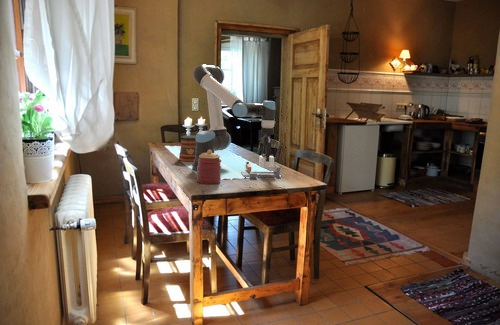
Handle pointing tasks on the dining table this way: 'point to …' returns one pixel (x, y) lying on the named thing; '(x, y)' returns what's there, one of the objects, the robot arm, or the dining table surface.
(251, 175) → the coupler rail
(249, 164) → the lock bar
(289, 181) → the dining table surface
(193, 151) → the beer stein
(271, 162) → the lock block
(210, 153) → the canister
